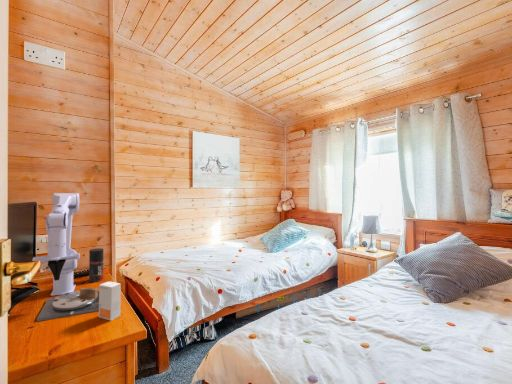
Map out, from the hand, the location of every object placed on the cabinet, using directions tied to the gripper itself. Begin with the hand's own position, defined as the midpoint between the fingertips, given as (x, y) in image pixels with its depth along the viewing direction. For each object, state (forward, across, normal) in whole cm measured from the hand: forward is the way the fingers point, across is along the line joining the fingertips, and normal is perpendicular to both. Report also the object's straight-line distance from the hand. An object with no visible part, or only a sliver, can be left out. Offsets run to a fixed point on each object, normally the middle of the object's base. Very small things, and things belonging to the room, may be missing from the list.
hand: (57, 279), depth 104 cm
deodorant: (+11, +12, +26) cm, 31 cm away
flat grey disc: (+9, +7, -2) cm, 12 cm away
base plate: (+10, +6, -2) cm, 12 cm away
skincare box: (+11, +18, -18) cm, 28 cm away
